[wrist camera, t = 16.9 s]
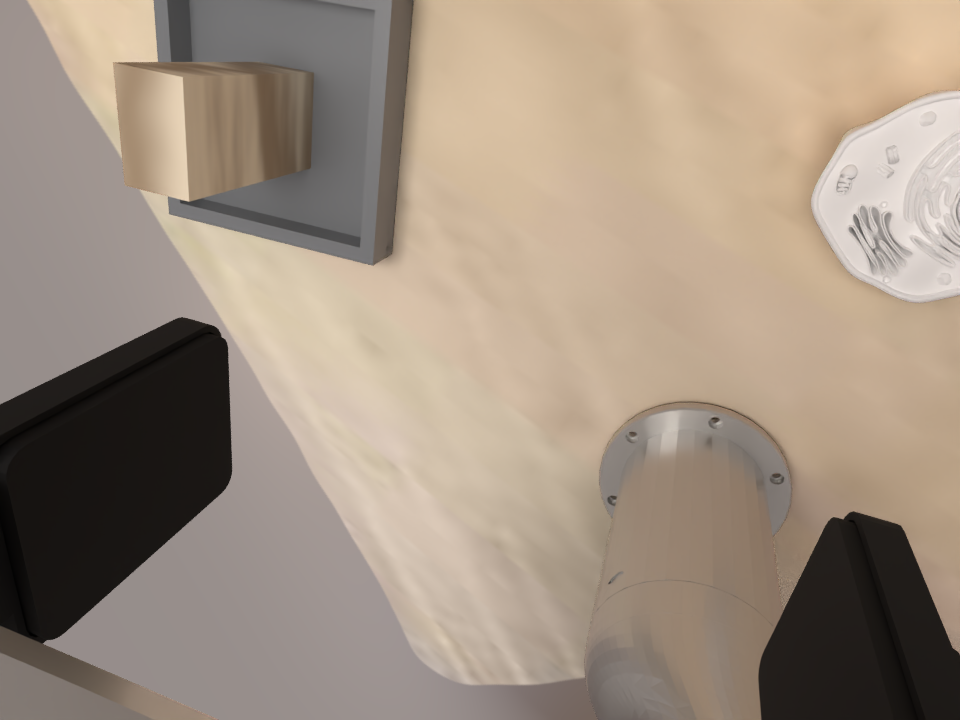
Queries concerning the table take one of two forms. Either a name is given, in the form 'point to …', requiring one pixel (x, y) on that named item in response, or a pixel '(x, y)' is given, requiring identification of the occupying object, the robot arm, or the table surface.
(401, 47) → the grey tray
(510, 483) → the table surface
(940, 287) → the cell model
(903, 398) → the table surface
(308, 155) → the birch block
